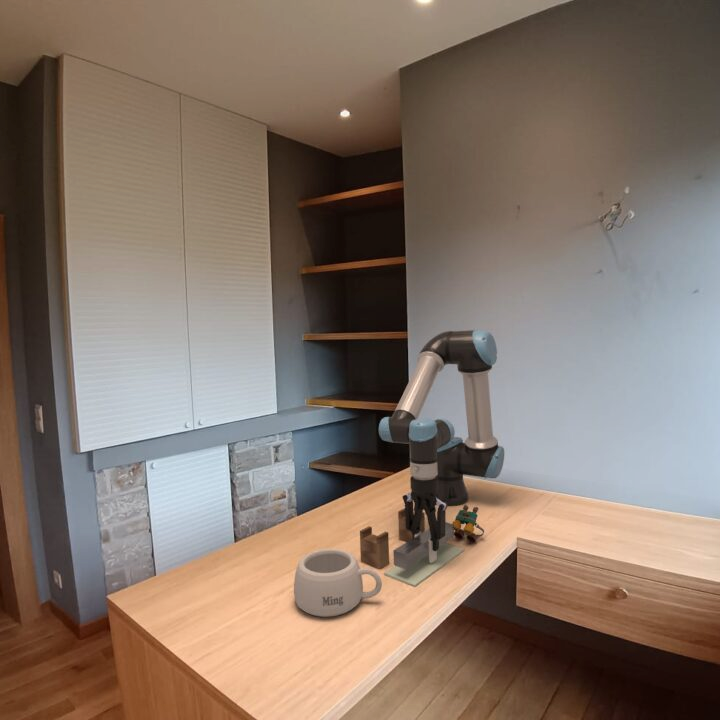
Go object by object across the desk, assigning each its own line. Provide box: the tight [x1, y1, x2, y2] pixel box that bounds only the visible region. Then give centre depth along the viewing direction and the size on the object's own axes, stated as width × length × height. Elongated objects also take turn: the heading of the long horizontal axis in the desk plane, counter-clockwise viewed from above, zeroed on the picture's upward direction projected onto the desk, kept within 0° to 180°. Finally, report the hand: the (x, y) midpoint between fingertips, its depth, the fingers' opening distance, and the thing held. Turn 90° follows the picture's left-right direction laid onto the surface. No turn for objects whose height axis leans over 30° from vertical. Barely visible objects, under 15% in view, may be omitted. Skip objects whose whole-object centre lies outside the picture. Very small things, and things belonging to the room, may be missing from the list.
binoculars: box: [451, 504, 485, 544], centre depth 148 cm, size 9×9×10 cm
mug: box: [293, 548, 383, 618], centre depth 116 cm, size 21×17×10 cm
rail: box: [392, 521, 455, 570], centre depth 134 cm, size 4×24×4 cm, turn 139°
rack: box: [359, 507, 426, 570], centre depth 141 cm, size 7×22×9 cm, turn 139°
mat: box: [383, 543, 465, 588], centre depth 134 cm, size 10×25×1 cm, turn 139°
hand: (425, 558), depth 134 cm, fingers closed on rail, 4 cm apart
